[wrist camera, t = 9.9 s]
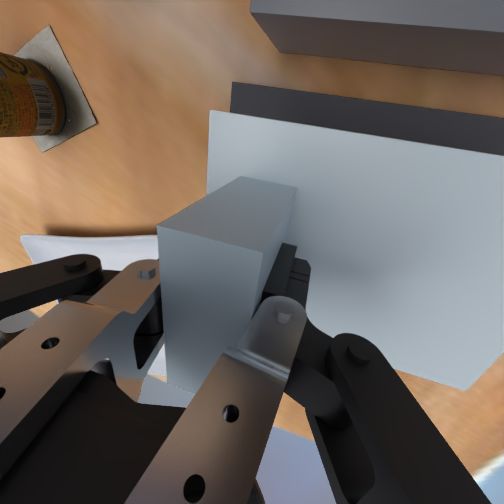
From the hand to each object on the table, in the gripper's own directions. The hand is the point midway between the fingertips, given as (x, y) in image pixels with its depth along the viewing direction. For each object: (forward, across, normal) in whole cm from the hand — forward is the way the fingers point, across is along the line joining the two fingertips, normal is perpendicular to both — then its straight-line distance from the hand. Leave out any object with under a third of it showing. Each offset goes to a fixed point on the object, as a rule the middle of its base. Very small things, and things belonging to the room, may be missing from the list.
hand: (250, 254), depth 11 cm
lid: (+3, -5, 0) cm, 6 cm away
